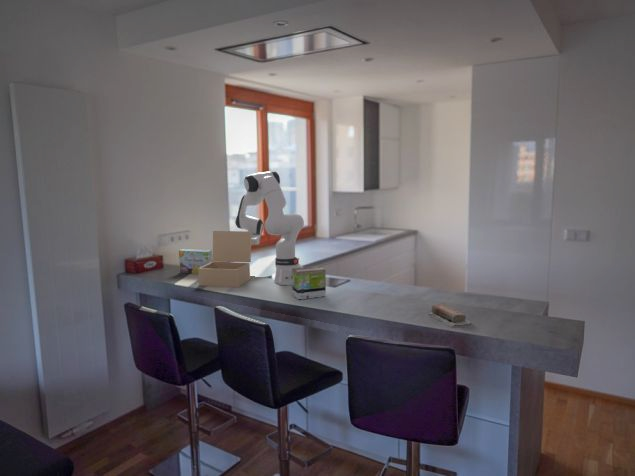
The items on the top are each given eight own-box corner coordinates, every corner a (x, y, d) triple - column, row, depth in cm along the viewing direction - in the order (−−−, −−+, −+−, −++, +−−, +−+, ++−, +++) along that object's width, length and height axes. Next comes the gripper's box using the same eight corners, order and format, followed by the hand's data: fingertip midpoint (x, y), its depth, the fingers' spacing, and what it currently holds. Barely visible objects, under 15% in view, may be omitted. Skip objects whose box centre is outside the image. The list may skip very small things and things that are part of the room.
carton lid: (250, 262, 278) (250, 262, 279) (250, 231, 279) (251, 231, 280) (212, 261, 284) (213, 261, 285) (213, 230, 284) (213, 230, 285)
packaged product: (427, 304, 208) (446, 302, 211) (427, 315, 209) (446, 312, 212) (451, 317, 191) (471, 314, 194) (450, 328, 192) (471, 325, 195)
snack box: (179, 273, 300) (178, 250, 298) (184, 271, 306) (183, 248, 303) (209, 274, 294) (207, 251, 292) (213, 272, 299) (212, 249, 297)
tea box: (298, 300, 234) (297, 271, 232) (292, 295, 243) (291, 267, 241) (326, 297, 239) (325, 268, 237) (319, 292, 249) (318, 265, 246)
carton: (250, 279, 280) (249, 263, 278) (238, 287, 262) (237, 269, 261) (213, 277, 285) (212, 261, 284) (199, 285, 268) (198, 268, 266)
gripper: (231, 234, 307) (222, 237, 293) (261, 234, 302) (253, 237, 288) (232, 243, 307) (223, 247, 294) (261, 244, 303) (253, 247, 289)
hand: (238, 242), depth 291 cm, fingers closed
